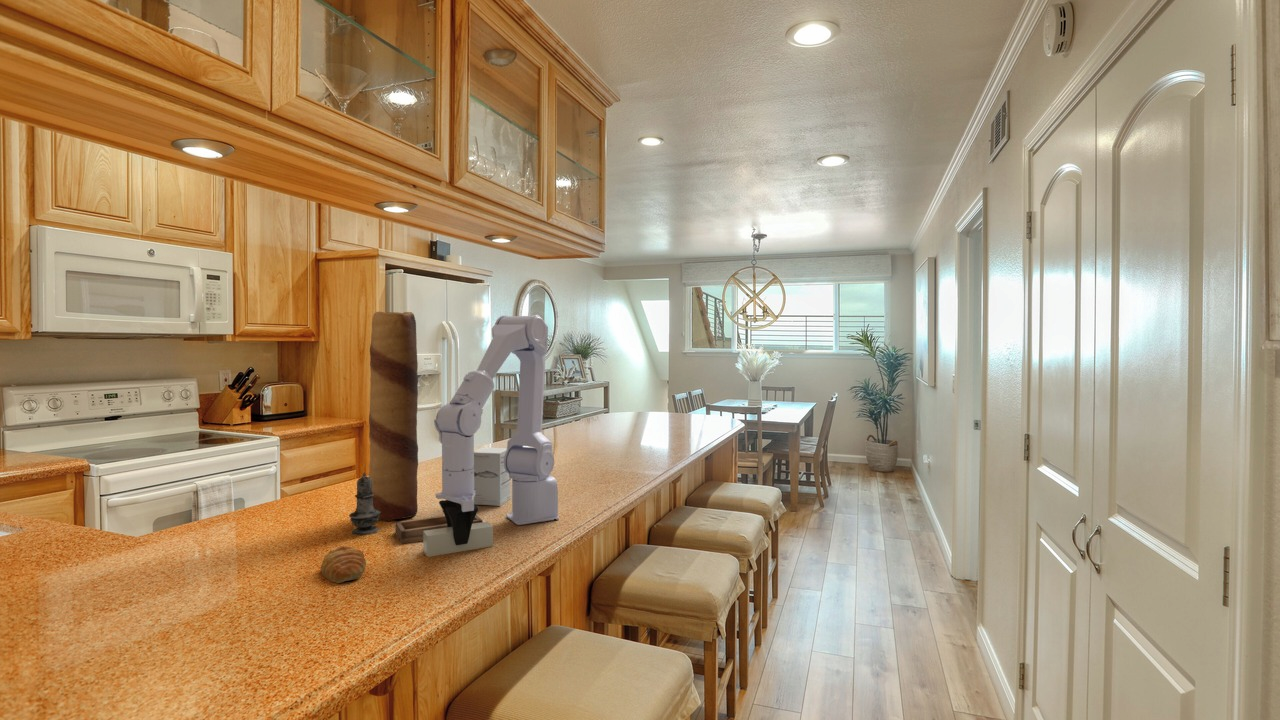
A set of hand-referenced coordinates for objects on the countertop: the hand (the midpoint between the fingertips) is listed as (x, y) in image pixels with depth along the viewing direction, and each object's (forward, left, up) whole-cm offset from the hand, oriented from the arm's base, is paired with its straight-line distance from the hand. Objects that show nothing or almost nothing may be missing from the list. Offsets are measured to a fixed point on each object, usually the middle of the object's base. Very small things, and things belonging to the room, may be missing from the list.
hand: (458, 540), depth 117 cm
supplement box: (-15, -30, -2) cm, 34 cm away
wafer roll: (+7, -29, -2) cm, 30 cm away
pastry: (+19, +3, -2) cm, 20 cm away
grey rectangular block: (0, 0, -2) cm, 2 cm away
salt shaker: (+14, -20, -2) cm, 24 cm away
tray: (+1, -12, -1) cm, 12 cm away
